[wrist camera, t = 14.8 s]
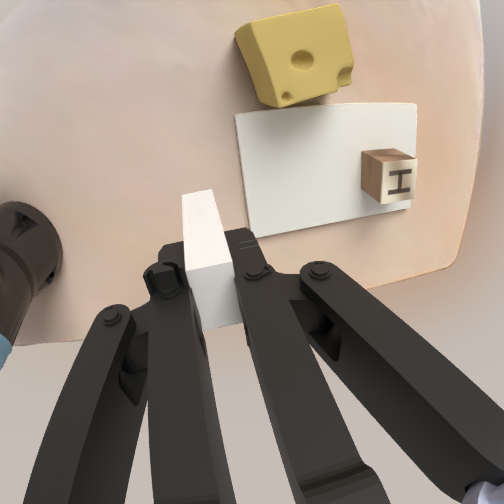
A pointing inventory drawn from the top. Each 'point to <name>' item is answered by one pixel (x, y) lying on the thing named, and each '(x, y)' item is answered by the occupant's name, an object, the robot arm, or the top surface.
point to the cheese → (297, 55)
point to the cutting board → (316, 161)
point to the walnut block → (388, 175)
